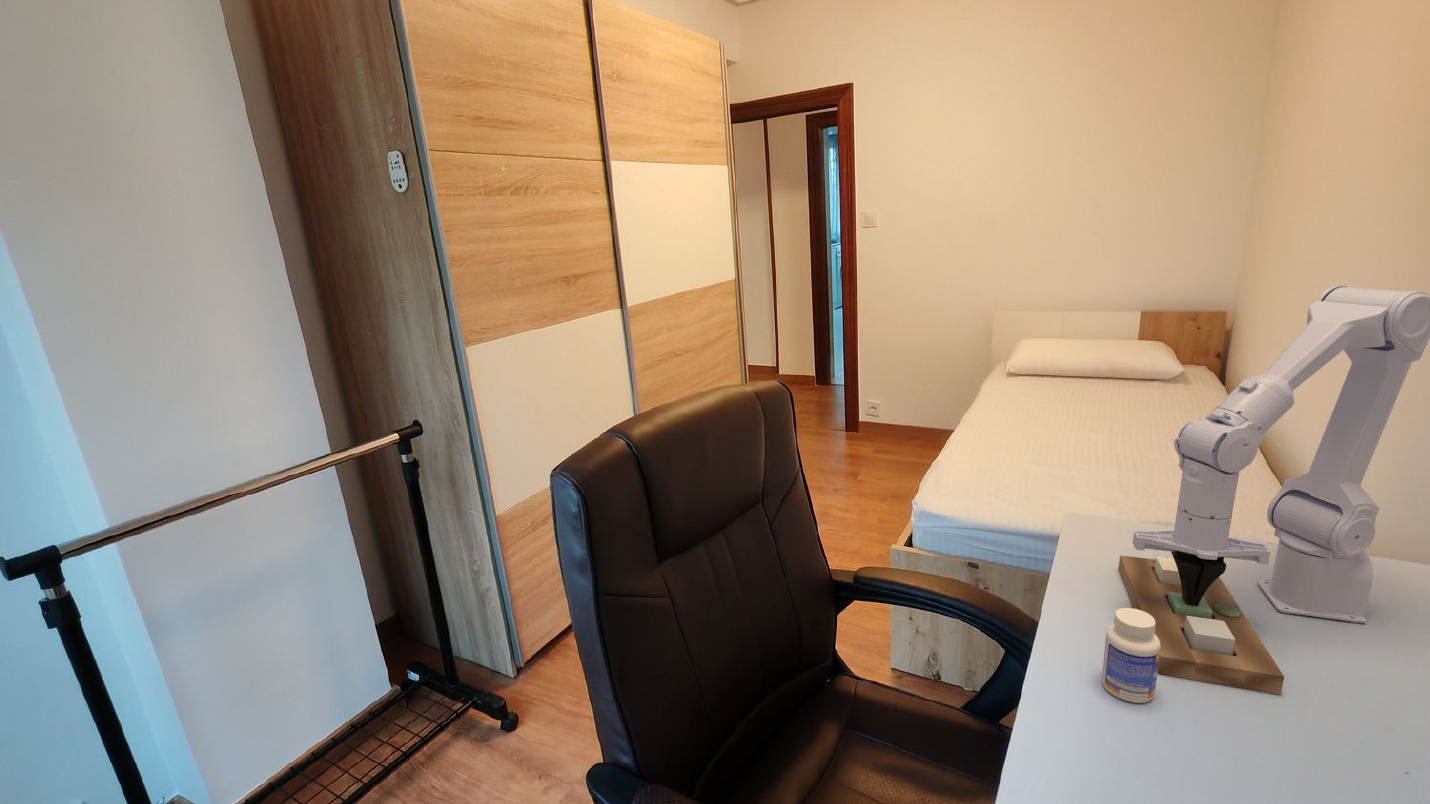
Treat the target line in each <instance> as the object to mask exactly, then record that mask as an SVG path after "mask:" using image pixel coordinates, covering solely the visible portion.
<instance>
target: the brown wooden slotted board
mask: <svg viewBox="0 0 1430 804" xmlns="http://www.w3.org/2000/svg"><path fill="white" fill-rule="evenodd" d="M1155 561H1156V558H1155V559H1154V558H1145V557H1139V556H1137V557H1136V556H1130V555H1119V563H1118V572H1119V575H1120V578H1121V581H1122V583H1123V585H1124V588H1125V591H1126V593H1127V596H1128V599H1129V601H1130V603H1131V607H1132V608H1133V609H1138V610H1141V611H1144V612H1146V613H1148V614H1150V615H1151V616H1152V617H1153V618H1154V619H1155V622H1156V625H1155V633H1154V634H1155V635H1156V636H1157V637H1158V639H1159V640H1160V644H1161V647H1160V656H1159V664H1158V671H1157V675H1162V676H1169V677H1173V678H1179V679H1185V680H1186V679H1187V680H1192V681H1196V682H1197V681H1198V682H1202V683H1210V684H1215V685H1219V686H1227V687H1233V688H1238V689H1244V690H1248V691H1249V690H1250V691H1256V692H1260V693H1261V692H1262V693H1267V694H1272V695H1278V696H1281V694H1282V692H1283V691H1282V689H1283V687H1284V686H1283V685H1284V680H1285V675H1284V673H1282V670H1281V669H1280V668H1279V666H1278V665H1277V663H1276V661H1275V659H1273V657H1272V656H1271V654H1270V652H1269V650H1267V648H1266V646H1265V644H1264V643H1263V641H1262V640H1261V639H1260V637H1259V635H1258V634H1257V631H1255V629H1254V628H1253V626H1252V625H1251V623H1250V622H1249V619H1248V618H1247V617H1246V616H1245V614H1244V613H1243V611H1242V609H1241V608H1240V606H1239V605H1238V603H1237V602H1236V600H1235V598H1234V597H1233V595H1232V594H1231V593H1230V591H1229V589H1228V588H1227V587H1226V585H1225V583H1224V582H1223V580H1222V578H1221V577H1220V576H1219V577H1218V578H1217V579H1216V580H1215V581H1214V582H1213V583H1212V584H1211V585H1210V586H1209V588H1208V589H1207V591H1206V592H1205V594H1204V595H1203V596H1204V598H1205V600H1206V602H1207V603H1208V605H1209V607H1210V609H1211V610H1212V612H1213V613H1212V619H1213V620H1220V621H1224V622H1225V623H1226V625H1227V627H1228V628H1229V630H1230V632H1231V633H1232V635H1233V637H1234V638H1235V644H1234V650H1233V655H1232V656H1230V655H1224V654H1218V653H1211V652H1205V651H1199V650H1192V649H1190V648H1189V646H1188V644H1187V641H1186V639H1185V637H1184V635H1183V633H1184V626H1185V620H1186V616H1189V615H1182V614H1175V613H1173V612H1172V610H1171V608H1170V606H1169V604H1168V602H1167V601H1168V594H1169V592H1176V593H1182V587H1181V586H1180V585H1172V584H1164V583H1158V581H1157V579H1156V576H1155V574H1154V569H1155ZM1192 617H1196V616H1192ZM1199 618H1203V617H1199ZM1206 619H1210V618H1206Z"/></svg>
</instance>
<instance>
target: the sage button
mask: <svg viewBox="0 0 1430 804" xmlns="http://www.w3.org/2000/svg"><path fill="white" fill-rule="evenodd" d="M1167 602H1168V604H1169V606H1170V608H1171V610H1172V612H1173V613H1175V614H1182V615H1189V616H1196V617H1203V618H1210V619H1212V613H1213V612H1212V610H1211V609H1210V607H1209V605H1208V603H1207V602H1206V600H1205V598H1204V596H1203V597H1202V599H1201V601H1200V603H1199V605H1198V606H1191V605H1186V604H1185V602H1184V600H1183V598H1182V593H1176V592H1169V594H1168V601H1167Z"/></svg>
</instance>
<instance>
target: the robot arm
mask: <svg viewBox="0 0 1430 804" xmlns="http://www.w3.org/2000/svg"><path fill="white" fill-rule="evenodd" d="M1307 309H1308V310H1307V316H1306V324H1307V325H1306V326H1305V327H1304V328H1303V330H1302V331H1301V332H1300V333H1299V334H1298V335H1297V336H1296V338H1294V340H1293V341H1292V342H1291V343H1290V344H1289V346H1287V348H1286V349H1285V350H1284V351H1283V353H1281V355H1280V356H1279V357H1278V358H1277V359H1276V360H1275V362H1274V363H1273V364H1272V365H1271V366H1270V367H1269V368H1268V370H1267V371H1266V372H1265V373H1264V374H1261V375H1259V374H1258V375H1250V376H1247V377H1246V378H1245V379H1243V381H1241V383H1240V384H1238V385H1237V387H1236V388H1234V389H1233V390H1232V391H1231V392H1230V393H1229V394H1228V395H1227V396H1226V397H1225V398H1224V399H1223V400H1222V401H1221V402H1220V403H1219V404H1218V405H1217V406H1215V407H1214V408H1213V410H1212V411H1210V413H1208V414H1207V415H1206V416H1205V417H1199V418H1198V419H1194V420H1190V421H1189V422H1187V423H1185V424H1184V425H1183V427H1182V428H1181V429H1180V431H1179V432H1178V436H1177V437H1175V438H1174V440H1173V443H1174V444H1173V445H1174V449H1175V452H1176V454H1177V455H1178V457H1179V462H1178V467H1179V468H1180V470H1181V471H1182V472H1181V481H1180V487H1179V494H1178V501H1177V508H1176V516H1175V522H1174V529H1173V530H1157V531H1145V530H1144V531H1143V530H1142V531H1140V530H1133V535H1132V536H1133V538H1132V545H1133V547H1134V549H1135V550H1136V551H1145V550H1146V549H1147V550H1156V551H1164V552H1170V553H1171V555H1172V558H1174V560H1175V563H1176V566H1177V569H1178V572H1179V576H1180V581H1181V587H1182V598H1183V600H1184V602H1185V604H1186V605H1191V606H1198V605H1199V603H1200V601H1201V599H1202V597H1203V595H1204V594H1205V592H1206V591H1207V589H1208V588H1209V586H1210V585H1211V584H1212V583H1213V582H1214V581H1215V580H1216V579H1217V578H1218V577H1220V576H1222V575H1223V574H1224V573H1225V572H1226V571H1227V563H1226V562H1225V558H1226V559H1233V560H1234V559H1236V560H1242V561H1243V560H1245V561H1252V562H1253V561H1254V562H1256V563H1257V564H1259V565H1266V566H1267V565H1269V561H1270V557H1271V550H1270V549H1269V548H1268V546H1267V545H1266V544H1265V543H1257V542H1250V541H1246V540H1240V539H1238V538H1237V539H1236V538H1232V537H1230V536H1229V535H1230V529H1231V523H1232V516H1233V513H1234V505H1235V501H1236V494H1237V488H1238V482H1239V476H1240V471H1243V470H1244V469H1245V468H1247V467H1248V466H1250V465H1251V464H1252V463H1253V462H1254V460H1255V458H1256V455H1257V452H1258V450H1259V447H1260V445H1261V444H1262V443H1263V440H1264V437H1263V436H1264V434H1265V433H1266V432H1267V431H1269V429H1270V428H1271V427H1273V426H1274V425H1275V424H1276V423H1277V422H1278V421H1279V419H1281V418H1282V417H1283V416H1284V415H1285V414H1286V413H1287V412H1288V411H1289V410H1291V409H1292V407H1293V406H1294V404H1295V397H1294V390H1296V389H1297V388H1299V386H1301V385H1302V384H1303V383H1305V381H1306V380H1308V379H1309V378H1311V377H1312V376H1313V375H1315V373H1317V372H1318V371H1319V370H1320V369H1322V368H1323V367H1324V366H1325V365H1327V364H1328V363H1329V362H1330V361H1332V360H1333V359H1334V358H1335V357H1336V356H1337V355H1339V354H1340V353H1342V352H1343V351H1344V352H1345V354H1346V355H1347V357H1348V359H1349V360H1350V363H1351V365H1350V367H1349V370H1348V372H1347V374H1346V376H1345V377H1346V378H1345V380H1344V383H1343V384H1342V387H1341V389H1340V391H1339V395H1338V398H1337V399H1336V402H1335V404H1334V407H1333V410H1332V412H1331V414H1330V417H1329V420H1328V423H1327V425H1326V427H1325V429H1324V431H1323V432H1324V433H1323V435H1322V437H1321V440H1320V442H1319V445H1318V448H1317V450H1316V452H1315V455H1314V457H1313V460H1312V462H1311V465H1310V467H1309V470H1308V472H1306V473H1304V474H1300V475H1298V476H1293V477H1290V478H1287V479H1285V480H1284V482H1283V484H1282V486H1281V489H1280V490H1279V491H1278V493H1277V494H1276V495H1275V496H1274V497H1273V498H1272V499H1271V501H1270V502H1269V505H1268V507H1267V513H1266V516H1267V517H1266V518H1267V521H1268V524H1269V525H1270V526H1271V528H1274V529H1275V530H1274V534H1273V535H1274V536H1275V537H1277V538H1278V539H1279V540H1278V544H1277V550H1276V554H1275V559H1274V560H1275V561H1274V564H1273V569H1272V576H1271V581H1269V580H1268V581H1266V580H1258V581H1257V584H1258V586H1259V587H1260V589H1261V590H1262V592H1263V593H1264V594H1265V595H1266V597H1267V598H1268V599H1269V601H1270V602H1271V604H1272V605H1273V606H1274V607H1275V609H1276V611H1278V612H1280V613H1286V614H1292V615H1299V616H1300V615H1302V616H1309V617H1315V618H1322V619H1329V620H1331V619H1332V620H1339V621H1345V622H1353V623H1359V624H1366V623H1367V620H1368V619H1366V617H1365V613H1366V609H1367V605H1368V601H1369V596H1370V592H1371V588H1372V583H1373V579H1374V572H1373V571H1374V570H1373V569H1374V568H1373V562H1371V559H1370V556H1369V555H1368V553H1366V552H1365V551H1366V550H1367V549H1368V548H1369V546H1370V545H1371V544H1372V542H1373V541H1374V538H1375V535H1376V534H1375V533H1376V521H1377V520H1376V518H1377V515H1378V512H1379V510H1380V508H1379V506H1378V504H1377V502H1376V501H1374V500H1373V499H1372V498H1371V497H1370V495H1369V494H1368V493H1367V492H1366V491H1365V490H1364V489H1363V487H1362V485H1361V484H1362V482H1363V480H1364V477H1365V475H1366V473H1367V470H1368V467H1369V466H1370V462H1371V460H1372V459H1373V456H1374V454H1375V451H1376V449H1377V447H1378V444H1379V441H1380V439H1381V437H1382V434H1383V433H1384V430H1385V427H1386V426H1387V425H1386V424H1387V423H1388V419H1389V418H1390V415H1391V413H1392V411H1393V409H1394V405H1395V403H1396V401H1397V399H1398V397H1399V394H1400V392H1401V389H1402V386H1403V384H1404V382H1405V379H1406V378H1407V376H1408V374H1409V370H1410V367H1411V366H1412V363H1413V362H1417V361H1419V360H1420V359H1421V358H1422V357H1423V353H1424V351H1425V349H1426V348H1427V345H1428V343H1429V341H1430V295H1429V294H1428V293H1427V292H1425V291H1421V290H1410V291H1406V290H1392V289H1391V290H1390V289H1376V288H1364V287H1363V288H1362V287H1349V286H1347V285H1335V286H1330V287H1329V288H1326V289H1325V290H1324V291H1323V292H1322V293H1321V294H1320V295H1319V296H1318V298H1317V299H1316V300H1315V302H1313V303H1312V304H1311V305H1309V307H1308V308H1307Z"/></svg>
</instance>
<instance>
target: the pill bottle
mask: <svg viewBox="0 0 1430 804" xmlns="http://www.w3.org/2000/svg"><path fill="white" fill-rule="evenodd" d="M1155 625H1156V622H1155V619H1154V618H1153V617H1152V616H1151V615H1150V614H1148V613H1146V612H1144V611H1141V610H1138V609H1133V607H1132V608H1131V607H1121V608H1119V609H1117V610H1116V611H1115V613H1114V618H1113V624H1111V625H1110V626H1109V627H1108V628H1107V630H1106V633H1105V642H1104V653H1103V655H1104V656H1103V662H1102V663H1103V664H1102V673H1101V683H1102V685H1103V687H1104V688H1105V690H1106V691H1107V692H1108V693H1109V694H1111V695H1112V696H1114V697H1116V698H1117V699H1121V700H1123V701H1125V702H1128V703H1135V704H1143V703H1145V704H1146V703H1148V702H1151V701H1152V699H1154V696H1155V692H1156V686H1157V685H1156V684H1157V678H1158V672H1157V671H1158V664H1159V656H1160V647H1161V644H1160V640H1159V639H1158V637H1157V636H1156V635H1155V634H1154V633H1155Z"/></svg>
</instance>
